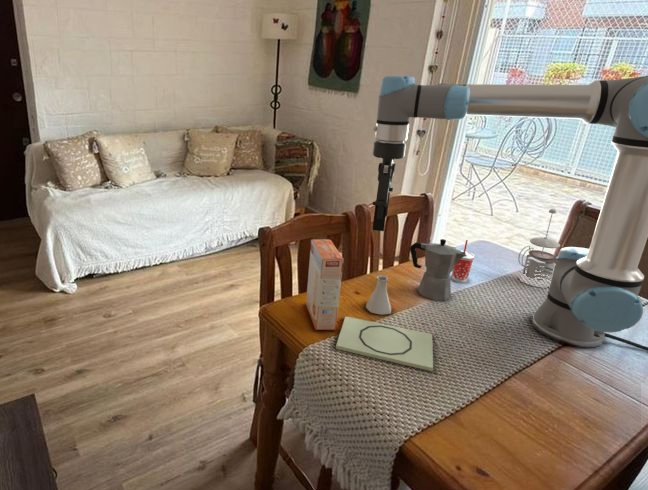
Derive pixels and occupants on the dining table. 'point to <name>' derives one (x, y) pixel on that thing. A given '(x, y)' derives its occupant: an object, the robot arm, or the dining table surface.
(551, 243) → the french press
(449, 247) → the coffeepot
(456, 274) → the beverage cup
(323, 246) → the cracker box
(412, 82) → the robot arm
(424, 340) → the drawing board
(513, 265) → the dining table surface
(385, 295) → the flask
